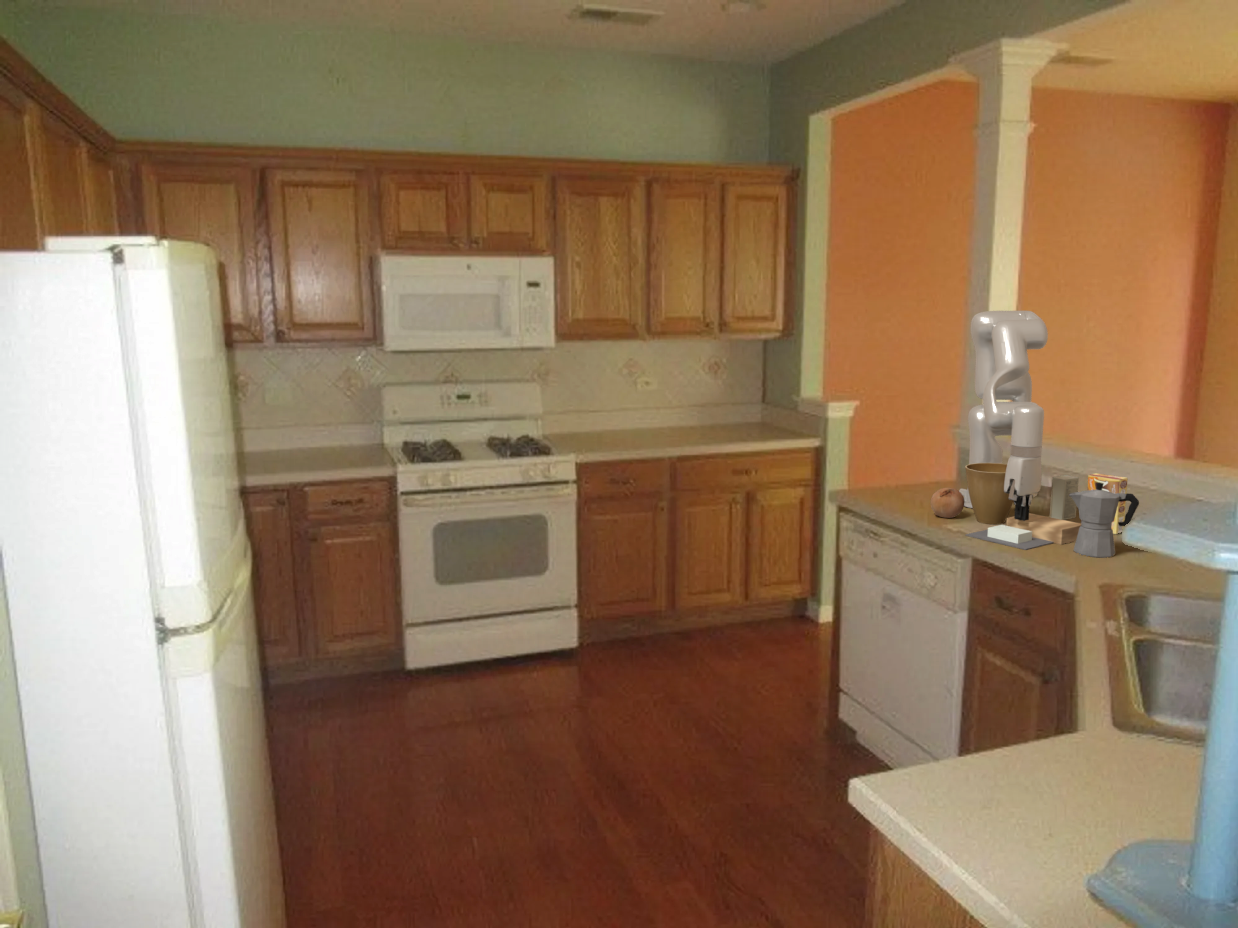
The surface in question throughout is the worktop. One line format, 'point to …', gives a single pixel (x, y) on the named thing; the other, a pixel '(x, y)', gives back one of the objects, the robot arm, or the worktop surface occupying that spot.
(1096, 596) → the worktop surface
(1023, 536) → the white rectangular block
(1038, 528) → the wooden block
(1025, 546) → the mat
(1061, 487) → the skincare box
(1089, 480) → the candy box
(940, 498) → the onion
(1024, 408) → the robot arm
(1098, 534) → the coffeepot
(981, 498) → the plant pot
